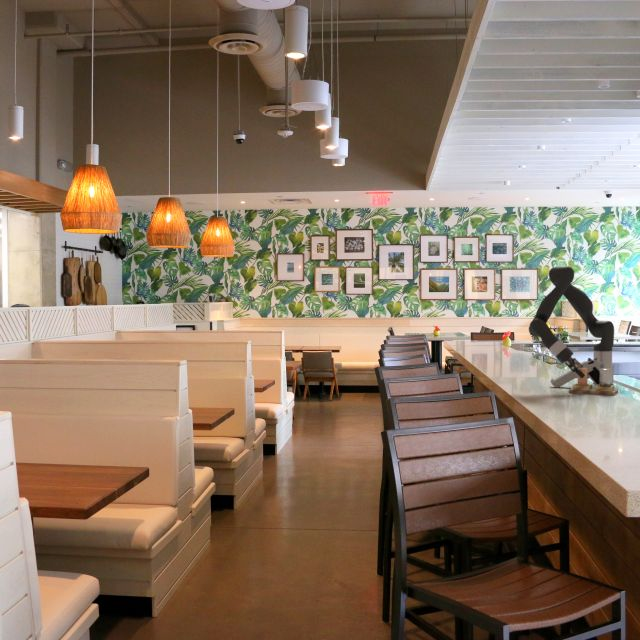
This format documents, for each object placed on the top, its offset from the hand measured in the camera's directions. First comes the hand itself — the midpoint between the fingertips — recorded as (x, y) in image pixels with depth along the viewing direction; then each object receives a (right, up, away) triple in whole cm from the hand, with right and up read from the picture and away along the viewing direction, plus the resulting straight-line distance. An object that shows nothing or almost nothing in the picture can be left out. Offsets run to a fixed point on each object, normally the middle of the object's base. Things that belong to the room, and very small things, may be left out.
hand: (585, 376), depth 352 cm
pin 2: (+8, -6, -4) cm, 11 cm away
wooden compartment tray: (+3, -8, -2) cm, 9 cm away
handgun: (+5, -8, +22) cm, 23 cm away
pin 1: (-1, -6, +1) cm, 6 cm away
